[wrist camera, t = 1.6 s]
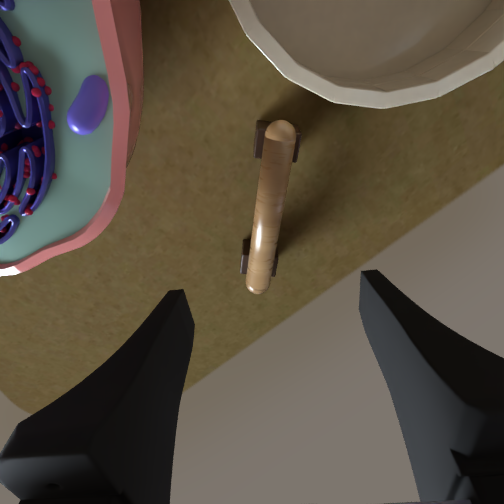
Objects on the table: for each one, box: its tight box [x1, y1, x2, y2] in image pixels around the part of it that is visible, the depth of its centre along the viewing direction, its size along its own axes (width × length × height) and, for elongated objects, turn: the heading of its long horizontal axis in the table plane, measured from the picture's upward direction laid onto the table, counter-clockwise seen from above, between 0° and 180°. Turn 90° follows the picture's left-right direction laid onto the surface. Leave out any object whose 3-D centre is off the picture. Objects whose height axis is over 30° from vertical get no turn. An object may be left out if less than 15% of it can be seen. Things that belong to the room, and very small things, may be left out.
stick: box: [246, 120, 296, 294], centre depth 20 cm, size 11×2×2 cm, turn 174°
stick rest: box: [240, 120, 302, 277], centre depth 21 cm, size 10×2×2 cm, turn 174°
